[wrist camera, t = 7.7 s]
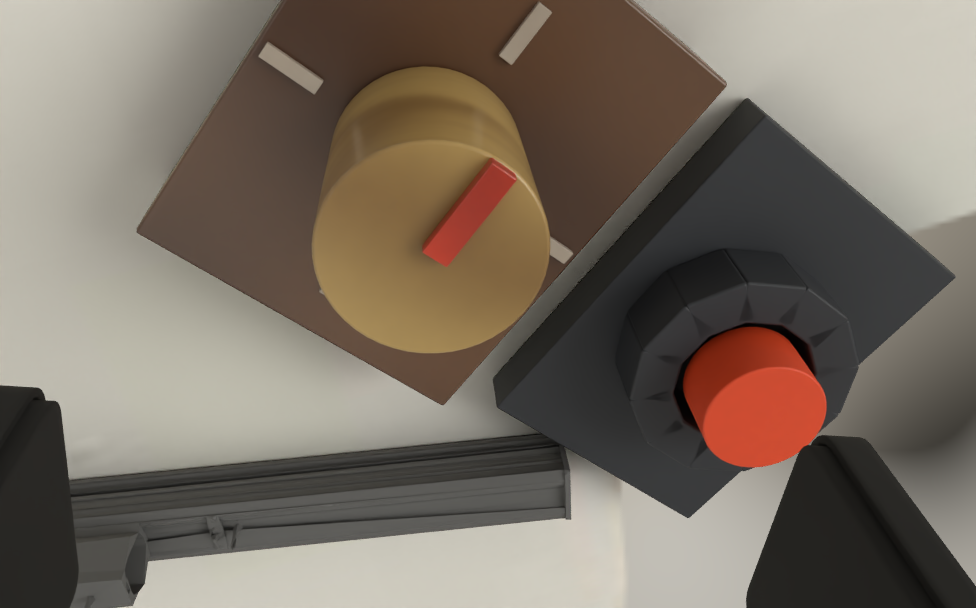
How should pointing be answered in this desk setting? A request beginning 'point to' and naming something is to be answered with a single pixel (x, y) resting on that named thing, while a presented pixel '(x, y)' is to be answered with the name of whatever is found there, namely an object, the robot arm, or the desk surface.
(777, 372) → the power button
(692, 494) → the switch box
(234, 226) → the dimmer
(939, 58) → the desk surface
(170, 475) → the dark grey long bar
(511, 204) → the dimmer knob
